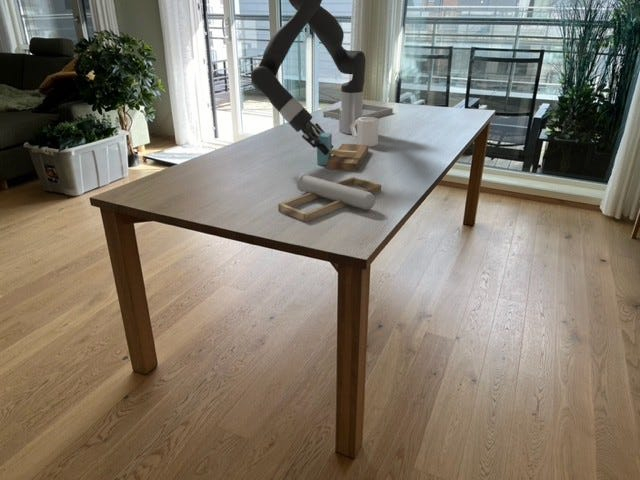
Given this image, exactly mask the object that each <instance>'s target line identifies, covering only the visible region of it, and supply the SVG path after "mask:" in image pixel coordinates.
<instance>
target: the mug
mask: <svg viewBox="0 0 640 480" xmlns="http://www.w3.org/2000/svg"><path fill="white" fill-rule="evenodd" d="M379 122H380V118H379V117H376V118H375V117H361V118H359V119H358V120H355V121H354V122H353V123H352V124H351V126H350V128H351V132H352V134H351V137H353V138H356V144H358V145H368V147H374V146H377V145H378V143H379V141H378V140H379ZM356 124H357V133H356V129H355V125H356Z"/></svg>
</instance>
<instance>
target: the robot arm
mask: <svg viewBox="0 0 640 480" xmlns="http://www.w3.org/2000/svg"><path fill="white" fill-rule="evenodd" d="M288 2H289V3H290V5H291V6H292V7H293V8H294V9H295V10H296V12H295V13H294V14H293V16H292V17H291V18H290V19H289V20H288V21H287V22H285V23H284V24H283V25H282V26H280V27H279V28H278V29H277V30H276V31H275V33H273V35H272V36H271V38H270V39H269V41H268V44H267V46H266V47H265V49H264V51H263V54H262V58H261V61H260V62H259V64H258V66H256V67H254V69H252V71H251V75H250V79H251V83H252V85H253V88H255V89H256V90H257V91H260V92H261V93H262V94H263V95H265V97H266V98H267V99H268V101H269V102H270V103H271V105H272V106H273V107H274V108H275V109H276V110H277V111H278V113H279V114H280V115H281V116H282V118H283V119H284V120H285V121H286V122H287V123H288V124H289V125H290V126H291V128H293V129H294V131H295V132H297V133H299V132H302V133H303V134H302V135H301V138H302V139H303V140H304V141H305V142H307V143H308V144H309V145H310V146H311V147H312V148H315V149H317V148H319V149H320V150H321V152H322V153H323V154H324V155H327V154H328V153H329V151H330V150H329V149H328V148H327V147H326V146H325V145H324V144H323V143H322V141H321V140H320V139H319V134H320V133H326V132H325V131H324V130H323V129H322V127H321V126H320V124H318V123H313V122H312V121H311V120H312V119H313V116H312V115H311V113H310V112H309V111H308V110H307V109H306V108H305V107H304V106H303V104H301V102H300V101H298V100H297V99H296V98H295V97H294V96H293V95H292V94H291V93H290V92H289V90H287V89H286V88H285V87H284V86H283V85H282V83H281V82H280V81H279V79H278V78H277V75H278V72H279V69H280V68H281V65H282V64H283V63H284V61H285V59H286V57H287V55H288V53H289V52H290V50H291V47H292V45H293V43H294V42H296V39H297V38H298V36H299V35H300V34H301V32H302V31H303V30H304V29H305V27H306V26H307V25H308V26H309V27H310V29H312V31H313V32H314V34H315V36H316V37H317V38H318V40H319V42H320V43H321V44H322V45H323V46H324V48H325V49H326V51H327V53H328V54H329V55H330V57H331V59H332V60H333V63H334V65H335V66H336V68H337V69H338V71H339V73H341V74H343V75H352V76H351V77H352V78H351V79H350V80H349V81H348V82H344V83H342V84H341V89H340V91H341V92H340V93H341V94H340V97H341V98H340V99H341V100H340V104H341V105H340V108H341V109H340V110H339V119H338V120H339V121H338V122H339V123H338V124H339V125H338V126H339V127H338V128H339V130H338V131H339V132H341V133H342V134H346V135H350V134H351V135H352V132H351V128H350V126H351V124H352V123H353V122H354V121H355V120H358V119H359V118H361V117H362V115H363V111H364V109H363V104H364V103H363V102H364V85H365V74H366V55H365V53H364V52H363V51H361V50H347V49H346V48H344V47H343V45H342V44H343V41H344V36H345V33H344V30H343V27H342V26H341V24H340V23H339V22H338V20H337V19H336V17H335V16H334V15H333V14H332V13H331V12H329V11H328V10H327V9H326V8H324V7H323V6H322V5H321V4H322V2H323V0H288ZM355 129H356V133H357V124H356V125H355ZM333 148H334V145H333V144H332V149H333Z"/></svg>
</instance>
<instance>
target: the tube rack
mask: <svg viewBox="0 0 640 480" xmlns="http://www.w3.org/2000/svg"><path fill="white" fill-rule="evenodd" d="M336 183H337V184H341V185H345V186H348V187H352V186H353V185H355V186H358V187H361V188H364V189H362V190H363V191H367V192H370V193H371V194H373V195H375V194H377V193H378V194H379V192H381V191H382V184H381V183H376V182H373V181H369V180H366V179H362V178H359V177H356V176H352V177H349V178H347V179H344V180H341V181H338V182H336ZM319 198H321V196H318V195H316V194H315V193H313V192H310V193H307V192H306V193H305V194H303V195H302V194H301V195H299V196H297V197H294V198H291V199H289V200H286V201H282V202H280V203H278V206H277V208H278V212H280V213H283V214H285V215H288V216H290V217H293V218H296V219H298V220H300V221H303V222H305V223H307V222H310V221H312V220H315V219H317V218H319V217H323V216H325V215H327V214H330V213H332V212H335V211H336V210H339V209H341V208H344V207H346V206H349V205H348V204H345V203H344V202H342V201H341V200H337V201H332V202H331V203H328V204H325V205H323V206H320V207H318V208H316V209H313V210H310V211H308V212H305V211H302V210H300V209H297V208H295V207H297V206H301V205H303V204H305V203H309V202H310V201H313V200H316V199H319Z"/></svg>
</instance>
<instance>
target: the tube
mask: <svg viewBox="0 0 640 480" xmlns="http://www.w3.org/2000/svg"><path fill="white" fill-rule="evenodd" d="M337 183H338V182H334V181H330V180H327V179H322V178H319V177H315V176H311V175H308V174H307V173H304V174H301V175H299V178H298V179H297V190H299V191H300V192H304V193H306V194H307V193H310V192H313V193H315V194H316V195H318V196H321V197H322V198H325V199H328V200H330V201H333V202H335V201H337V200H341V201H342V202H344V203H345V204H348V205H347V206H352V207H355V208H358V209H362V210H364V211H368V210H371V209H372V208H373V207H374V206H375V204H376V197H375V196H374V195H375V194H371V193H370V192H367V191H363V190H364V189H358V188H356V187H352V186H345V185H341V184H337ZM321 197H320V198H321Z"/></svg>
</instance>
